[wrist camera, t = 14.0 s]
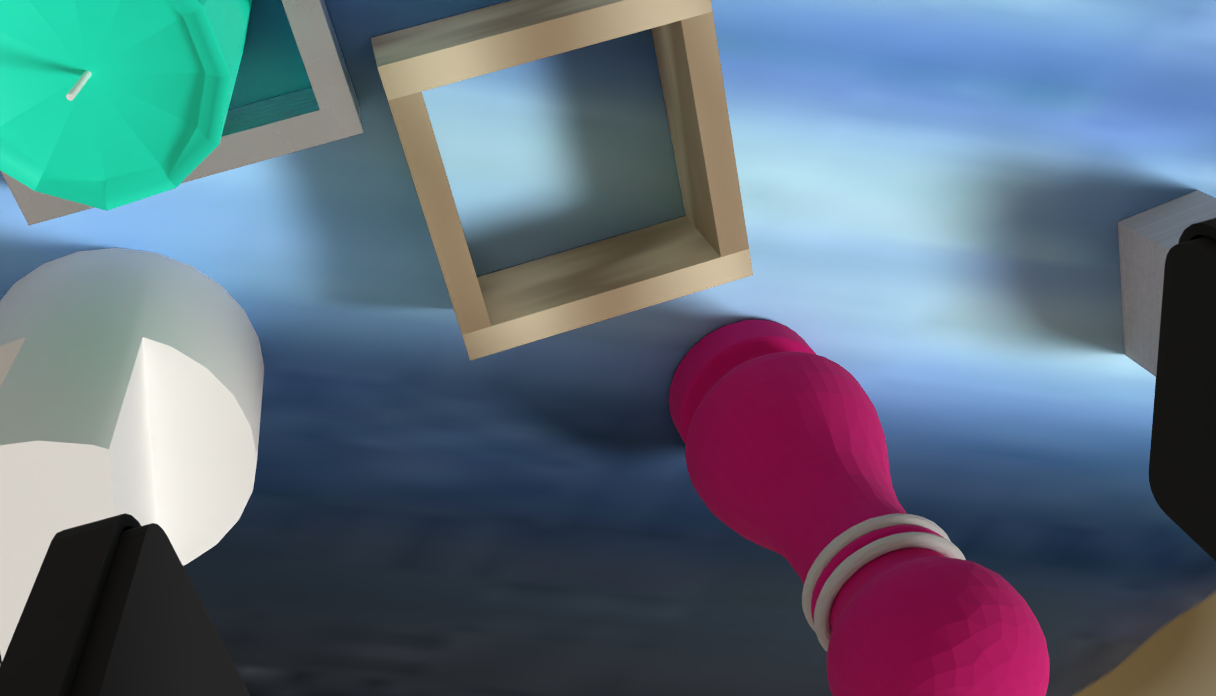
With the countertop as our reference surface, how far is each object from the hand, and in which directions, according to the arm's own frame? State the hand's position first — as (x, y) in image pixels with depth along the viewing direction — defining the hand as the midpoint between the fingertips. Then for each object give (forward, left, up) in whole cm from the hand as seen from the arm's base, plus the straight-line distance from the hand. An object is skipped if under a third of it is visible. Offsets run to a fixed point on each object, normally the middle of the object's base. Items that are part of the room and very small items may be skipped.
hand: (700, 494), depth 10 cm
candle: (+8, -2, -28) cm, 29 cm away
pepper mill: (-8, +18, -28) cm, 34 cm away
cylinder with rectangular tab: (+13, +10, -28) cm, 33 cm away
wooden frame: (-3, +6, -28) cm, 29 cm away
